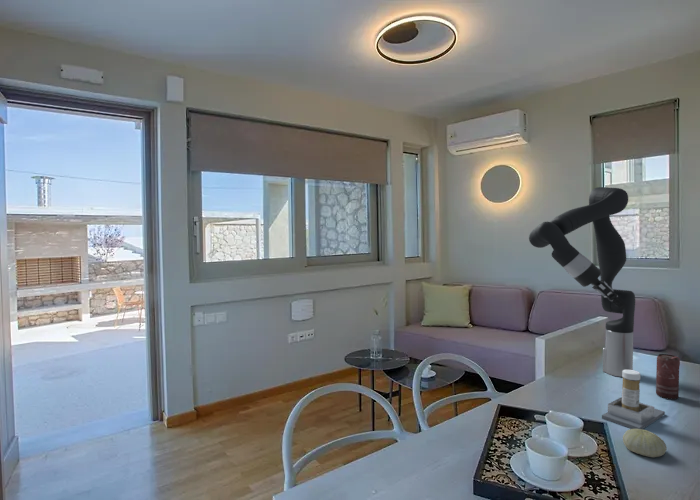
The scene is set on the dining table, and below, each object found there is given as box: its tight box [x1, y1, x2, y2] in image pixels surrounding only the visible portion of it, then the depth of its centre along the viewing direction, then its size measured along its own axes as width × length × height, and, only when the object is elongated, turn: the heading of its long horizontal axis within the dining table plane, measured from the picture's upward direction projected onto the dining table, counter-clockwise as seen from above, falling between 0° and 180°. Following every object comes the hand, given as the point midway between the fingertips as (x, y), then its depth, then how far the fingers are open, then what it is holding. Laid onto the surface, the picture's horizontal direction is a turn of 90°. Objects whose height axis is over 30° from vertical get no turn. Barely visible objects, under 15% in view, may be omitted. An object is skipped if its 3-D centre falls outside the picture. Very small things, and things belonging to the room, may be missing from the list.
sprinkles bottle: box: [621, 369, 641, 412], centre depth 126 cm, size 5×5×14 cm
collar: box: [607, 396, 655, 425], centre depth 126 cm, size 9×9×3 cm
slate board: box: [601, 407, 666, 430], centre depth 128 cm, size 10×18×1 cm, turn 124°
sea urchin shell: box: [622, 428, 668, 458], centre depth 109 cm, size 9×8×8 cm
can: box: [655, 353, 681, 401], centre depth 142 cm, size 6×6×14 cm
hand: (621, 305), depth 136 cm, fingers open, 8 cm apart
